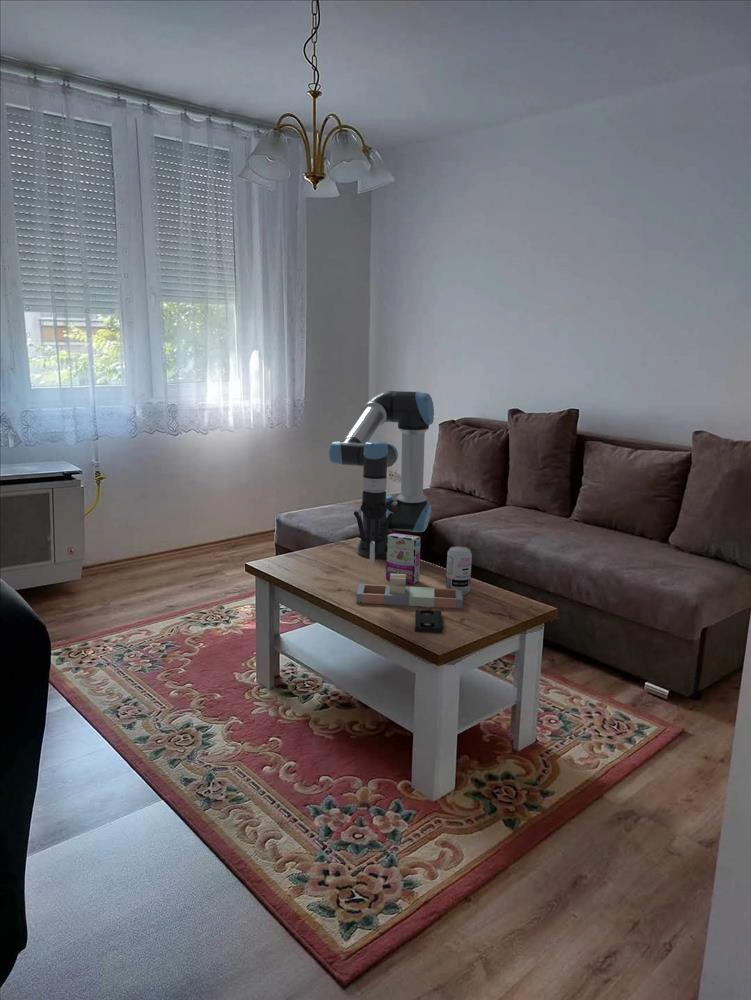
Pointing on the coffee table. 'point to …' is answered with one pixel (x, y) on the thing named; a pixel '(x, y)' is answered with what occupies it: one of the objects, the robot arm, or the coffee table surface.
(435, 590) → the trap runway
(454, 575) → the supplement can
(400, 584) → the birch block
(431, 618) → the vhs tape
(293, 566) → the coffee table surface
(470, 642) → the coffee table surface
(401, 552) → the candy bar box
